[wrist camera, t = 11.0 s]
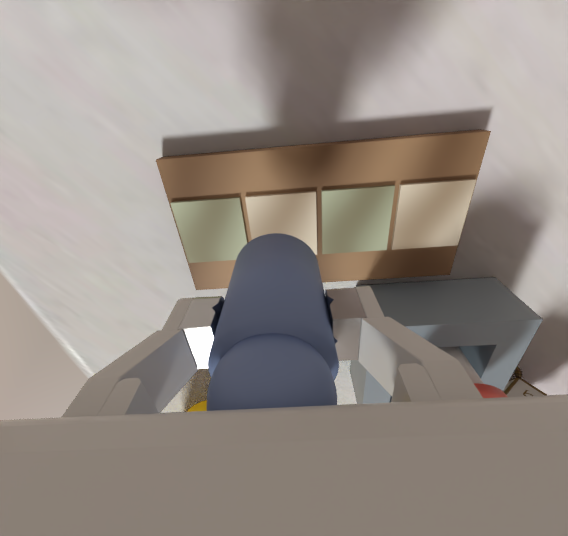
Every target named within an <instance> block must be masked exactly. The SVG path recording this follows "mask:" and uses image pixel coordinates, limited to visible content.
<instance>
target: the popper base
mask: <svg viewBox="0 0 568 536" xmlns="http://www.w3.org/2000/svg"><path fill="white" fill-rule="evenodd" d="M361 286H370V287H371V288H372V291H373V293H374V295H375V297H376V299H377V301H378V304H379V306H380V308H381V310H382V312H383V314H384V317H390V318H392V319H394V320H395V321H397V322H398V323H400V324H402V325H403V326H405V327H406V328H408V329H409V330H411V331H413V332H414V333H416V334H417V335H419V336H421V337H422V338H424V339H425V340H427V341H429V342H430V343H432V344H433V345H435V346H436V347H456V346H458V347H459V348H460V350H461V351H462V352H463V354H464V355H465V357H466V358H467V360H468V361H469V363H470V364H471V366H472V367H473V369H474V370H475V371H476V373H477V374H478V376H479V377H480V379H481V380H482V382H483V383H484V384H487V385H491V386H494V387H497V388H499V389H501V390H502V391H503V390H504V388H505V386H506V385H507V383H508V381H509V379H510V377H511V376H512V374H513V372H514V370H515V369H516V367H517V365H518V363H519V361H520V360H521V358H522V356H523V354H524V352H525V351H526V349H527V347H528V345H529V344H530V342H531V340H532V338H533V336H534V335H535V333H536V331H537V329H538V327H539V326H540V324H541V322H542V320H543V319H542V318H541V317H540V316H539V315H537V314H536V313H535V312H534V311H533V310H532V309H531V308H529V307H528V306H527V305H526V304H525V303H524V302H523V301H521V300H520V299H519V298H518V297H517V296H516V295H515V294H513V293H512V292H511V291H510V290H509V289H508V288H506V287H505V286H504V285H503V284H502V283H501V282H500V281H498V280H497V279H496V278H495V277H492V278H475V279H458V280H441V281H424V282H407V283H390V284H374V285H357V286H356V287H361ZM350 374H351V378H352V383H353V387H354V392H355V396H356V400H357V404H369V403H390V402H391V400H392V396H391V395H390V394H389V393H388V392H387V391H386V390H385V389H384V388H383V386H382V385H381V384H380V383H379V382H378V381H377V380H376V379H375V378H374V377H373V376H372V375H371V374H370V373H369V372H368V371H367V370H366V369H365V368H364V367H363V366H362V364H361V363H360V362H359V361H358V360H351V365H350Z"/></svg>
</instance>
